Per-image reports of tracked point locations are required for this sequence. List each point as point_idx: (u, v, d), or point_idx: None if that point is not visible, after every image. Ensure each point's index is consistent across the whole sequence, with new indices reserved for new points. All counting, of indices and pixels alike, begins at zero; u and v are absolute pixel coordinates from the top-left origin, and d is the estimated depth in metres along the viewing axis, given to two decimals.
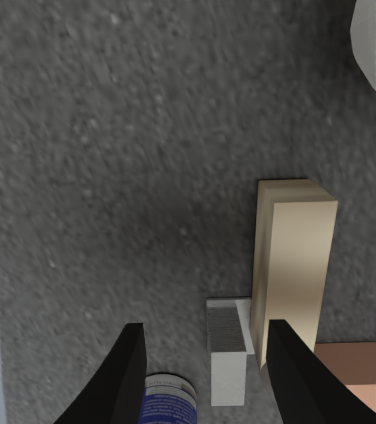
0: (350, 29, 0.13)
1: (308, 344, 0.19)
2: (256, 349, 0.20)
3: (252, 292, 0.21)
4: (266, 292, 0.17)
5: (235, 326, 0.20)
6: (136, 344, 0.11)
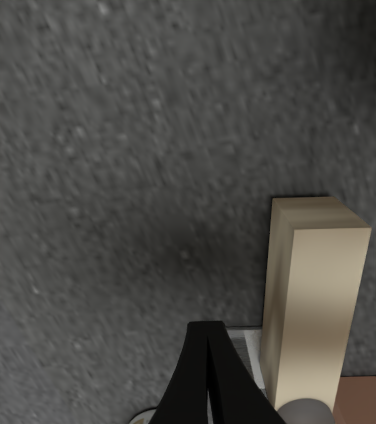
0: None
1: (330, 388, 0.16)
2: (268, 389, 0.18)
3: (263, 323, 0.19)
4: (282, 331, 0.15)
5: (244, 364, 0.17)
6: (207, 342, 0.11)
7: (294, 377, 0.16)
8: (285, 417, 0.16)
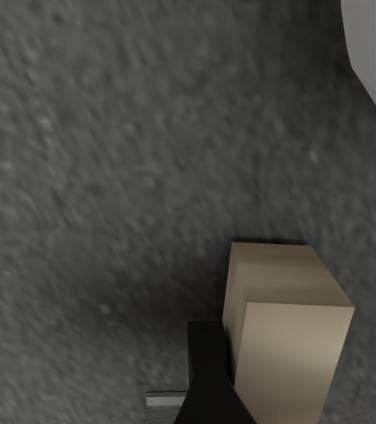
0: None
1: None
2: None
3: None
4: None
5: None
6: (225, 342, 0.11)
7: None
8: None
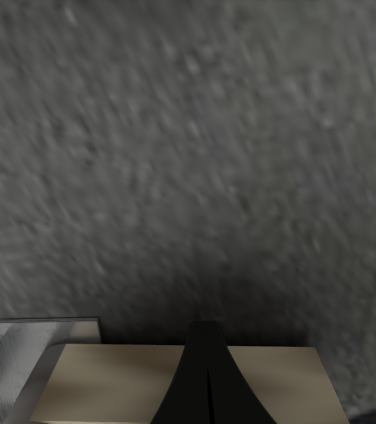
0: None
1: None
2: (58, 387, 0.12)
3: (140, 346, 0.14)
4: None
5: None
6: (208, 342, 0.11)
7: None
8: None
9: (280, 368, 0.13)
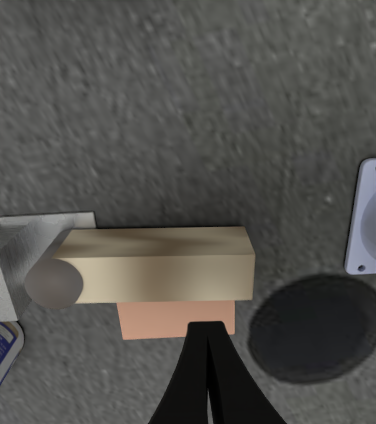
0: None
1: (97, 297, 0.18)
2: (68, 246, 0.19)
3: (124, 229, 0.20)
4: (158, 255, 0.17)
5: (8, 236, 0.19)
6: (207, 342, 0.11)
7: (108, 269, 0.18)
8: (64, 270, 0.17)
9: (218, 235, 0.20)
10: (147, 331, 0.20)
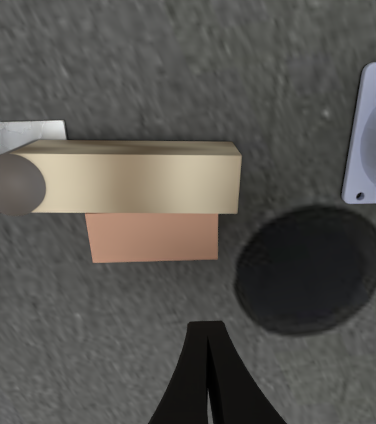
0: None
1: (62, 205, 0.16)
2: (31, 147, 0.16)
3: (97, 140, 0.18)
4: (132, 154, 0.15)
5: None
6: (207, 342, 0.11)
7: (74, 170, 0.16)
8: (22, 165, 0.15)
9: (201, 145, 0.17)
10: (120, 253, 0.18)
